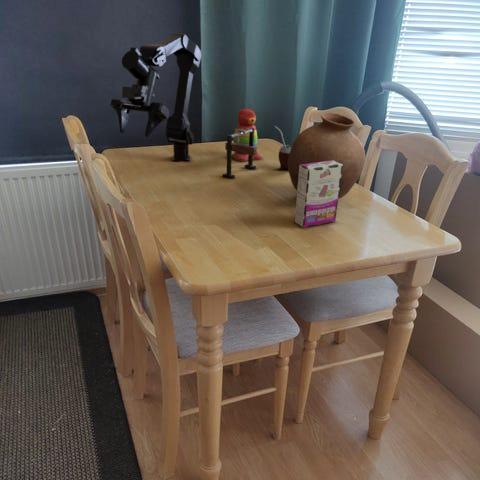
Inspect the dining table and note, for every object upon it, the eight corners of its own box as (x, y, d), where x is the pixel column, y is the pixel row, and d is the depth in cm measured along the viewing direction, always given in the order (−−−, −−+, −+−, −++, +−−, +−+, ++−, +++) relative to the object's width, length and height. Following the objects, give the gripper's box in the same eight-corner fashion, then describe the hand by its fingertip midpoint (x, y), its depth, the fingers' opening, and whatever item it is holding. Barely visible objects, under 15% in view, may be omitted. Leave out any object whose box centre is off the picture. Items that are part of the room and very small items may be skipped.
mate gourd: (300, 170, 178) (304, 127, 169) (283, 173, 174) (287, 129, 165) (287, 165, 183) (291, 123, 174) (271, 168, 179) (274, 125, 170)
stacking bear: (239, 162, 184) (241, 112, 174) (227, 155, 191) (228, 107, 181) (263, 159, 188) (266, 110, 178) (250, 152, 196) (252, 105, 186)
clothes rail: (222, 176, 168) (223, 134, 160) (246, 166, 179) (248, 127, 171) (232, 179, 166) (233, 136, 158) (255, 168, 177) (257, 128, 169)
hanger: (225, 149, 171) (225, 127, 166) (228, 148, 172) (228, 126, 168) (253, 155, 165) (254, 132, 161) (256, 154, 166) (257, 131, 162)
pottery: (283, 185, 163) (290, 105, 149) (351, 188, 162) (364, 108, 148) (286, 209, 144) (294, 121, 130) (363, 212, 144) (380, 124, 130)
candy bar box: (325, 216, 140) (333, 159, 131) (335, 222, 136) (344, 164, 127) (293, 222, 136) (298, 163, 127) (302, 228, 132) (309, 168, 123)
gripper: (105, 70, 147) (94, 120, 148) (158, 75, 141) (146, 127, 142) (124, 88, 158) (114, 135, 158) (174, 93, 152) (163, 142, 153)
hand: (133, 134), depth 153 cm, fingers open, 9 cm apart
